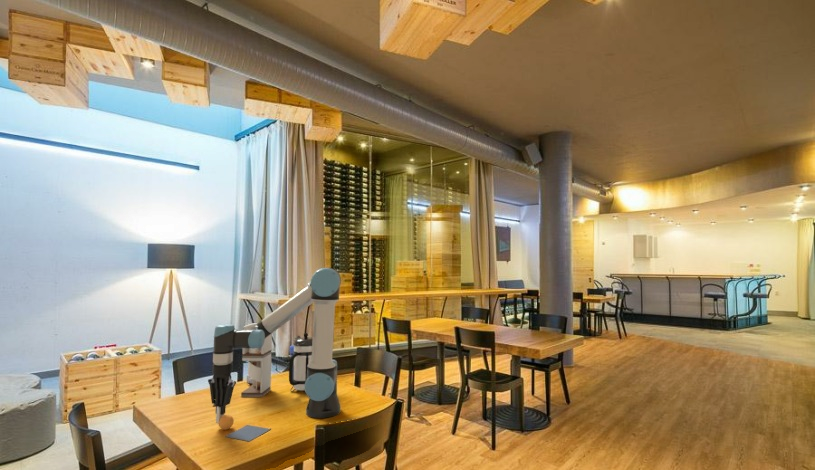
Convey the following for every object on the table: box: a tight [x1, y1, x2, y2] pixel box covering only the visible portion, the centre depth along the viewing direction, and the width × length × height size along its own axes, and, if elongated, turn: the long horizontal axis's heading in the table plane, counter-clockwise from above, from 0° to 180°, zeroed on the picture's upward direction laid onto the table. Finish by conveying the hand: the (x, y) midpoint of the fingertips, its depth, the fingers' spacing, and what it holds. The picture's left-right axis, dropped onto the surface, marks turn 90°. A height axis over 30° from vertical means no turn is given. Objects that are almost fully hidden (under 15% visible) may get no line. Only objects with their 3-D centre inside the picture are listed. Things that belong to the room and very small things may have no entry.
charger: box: [246, 374, 253, 384], centre depth 228 cm, size 5×9×15 cm
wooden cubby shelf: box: [240, 322, 273, 398], centre depth 209 cm, size 11×11×35 cm
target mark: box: [224, 424, 271, 442], centre depth 157 cm, size 12×12×1 cm
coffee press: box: [288, 332, 313, 395], centre depth 212 cm, size 17×16×30 cm
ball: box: [218, 414, 235, 431], centre depth 162 cm, size 6×6×6 cm
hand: (219, 422), depth 163 cm, fingers closed
